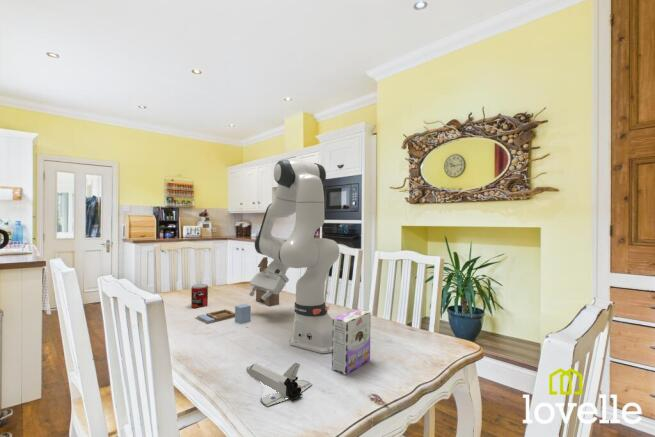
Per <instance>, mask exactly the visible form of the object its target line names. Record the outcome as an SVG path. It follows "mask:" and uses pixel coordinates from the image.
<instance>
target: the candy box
mask: <svg viewBox="0 0 655 437" xmlns="http://www.w3.org/2000/svg"><path fill="white" fill-rule="evenodd" d="M332 319H333V338H332V352H331V370H333V371H334V372H337V373H339V372H340V373H339V374H341V373H342V375H344V374H345V375H344V376H347V375H349V374H351V373H352V372H353V370H354V371H355V370H356V369H358V368H360V367H361V366H363V365H364V364H366V363H368V362H369V361H371V311H369V310H363V309H359V308H355V309H354V310H351V311H348V312H345V313H343V314H341V315H339V316H335V317H332ZM348 373H349V374H348ZM346 374H347V375H346Z"/></svg>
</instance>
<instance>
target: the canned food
mask: <svg viewBox="0 0 655 437" xmlns="http://www.w3.org/2000/svg"><path fill="white" fill-rule="evenodd" d="M208 292H209V286H208V283H207V284H206V283H198V284H192V285H191V294H190V295H191V300H190V302H191V303H190V304H191V308H192V309H195V310H196V309H200V308H206V307H208V304H209V302H208V301H209V299H208V297H209V293H208Z"/></svg>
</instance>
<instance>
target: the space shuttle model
mask: <svg viewBox="0 0 655 437" xmlns="http://www.w3.org/2000/svg"><path fill="white" fill-rule="evenodd" d="M300 365H301V364H299V363H297V362H294V363H293V364H292V365H291V366H290V367H289V368H288V369H287V370H286V372H285V373H283V375H282V374H281V373H278V372H276V371H274V370H272V369H269V368H267V367H266V366H264V365H261V364H259V363H257V362H256V363H254V364H252V365H249V366H247V367H246V372H247V374H249V376H250V377H252V378H253V377H254V379H255V380H257V381H258V380H259V381H261V382H262V383H263V384H264V385H267V386H269V387H271V388H272V389H274V390H276V392H277V393H275V394H273V393H272V394H273V395H272V396H270V395H271V394H269V395H267V396H266V395H265V396H266V397H263V399H262V398H261V397H260V399H259V401H260V400H261V401H260V403H261V404H262V403H263V404H262V405H264V406H265V405H266V406H265V407H270V406H273V405H276V404H279V402H280V403H283V402H286V401H287V400H286V399H285V398H288V399H289V400H293V401H294V400H295V399H297V398H299V397H301V396H303V395H304V394H303V392H304V391H306V390H307V389H309V387H311V386H312V385H313V383H311V382H309V381H307V380H304V379H299V377H298V376H297V375H298V372H299V368H300ZM259 381H258V382H259ZM302 391H303V392H302ZM278 392H279V393H278ZM301 392H302V393H301ZM269 396H270V397H269ZM285 400H286V401H285ZM282 401H283V402H282Z"/></svg>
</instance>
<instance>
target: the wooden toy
mask: <svg viewBox="0 0 655 437" xmlns="http://www.w3.org/2000/svg"><path fill="white" fill-rule="evenodd" d="M267 267H268V256H265V257H264V256H263V257H262V259H261V260H260V261H259V263H258V266H257V268H259V270H258V271H259V272H262V271H265V270H266V268H267ZM259 272H258V273H259ZM266 293H267V292H266V291H263V290H260V289H257V290H255V302H258V303H265V306H268V307H274V306H277V305H279V304H280V293H279V294H277V295H276V294H273V293H272V294H271V295H270V296H269V297H267V298H266V300H262V299H261V297H262V295H264V294H266Z"/></svg>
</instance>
